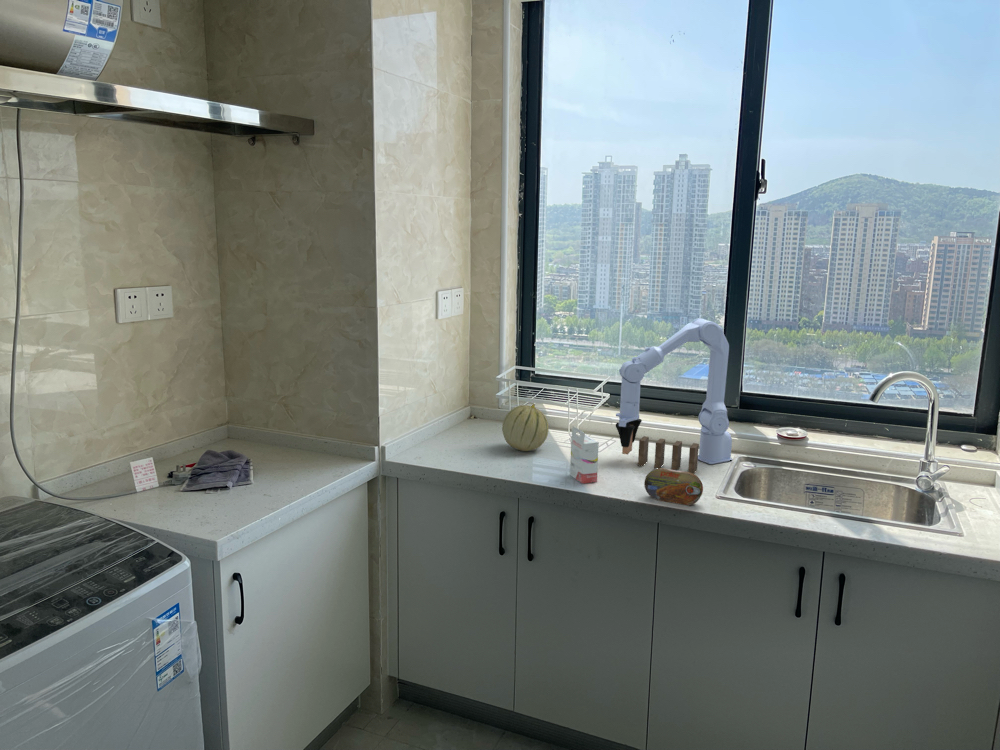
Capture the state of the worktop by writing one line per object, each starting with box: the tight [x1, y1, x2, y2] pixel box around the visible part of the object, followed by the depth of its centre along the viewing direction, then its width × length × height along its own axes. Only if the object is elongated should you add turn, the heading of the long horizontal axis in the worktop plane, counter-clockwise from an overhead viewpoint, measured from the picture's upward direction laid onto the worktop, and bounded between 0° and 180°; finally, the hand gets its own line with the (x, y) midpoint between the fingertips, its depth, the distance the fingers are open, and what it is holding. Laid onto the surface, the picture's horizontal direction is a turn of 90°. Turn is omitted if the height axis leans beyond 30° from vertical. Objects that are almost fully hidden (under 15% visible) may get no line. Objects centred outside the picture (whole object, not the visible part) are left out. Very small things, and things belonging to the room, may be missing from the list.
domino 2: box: [637, 435, 650, 467], centre depth 222 cm, size 2×5×8 cm, turn 154°
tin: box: [644, 467, 704, 506], centre depth 192 cm, size 15×3×8 cm, turn 62°
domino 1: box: [621, 425, 633, 455], centre depth 224 cm, size 2×5×8 cm, turn 154°
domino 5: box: [687, 442, 700, 474], centre depth 216 cm, size 2×5×8 cm, turn 154°
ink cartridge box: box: [569, 425, 600, 484], centre depth 208 cm, size 9×5×15 cm, turn 20°
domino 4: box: [670, 440, 683, 471], centre depth 218 cm, size 2×5×8 cm, turn 154°
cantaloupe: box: [501, 403, 550, 452], centre depth 234 cm, size 15×15×15 cm
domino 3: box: [653, 438, 666, 469], centre depth 220 cm, size 2×5×8 cm, turn 154°
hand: (627, 444), depth 224 cm, fingers closed on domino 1, 5 cm apart
